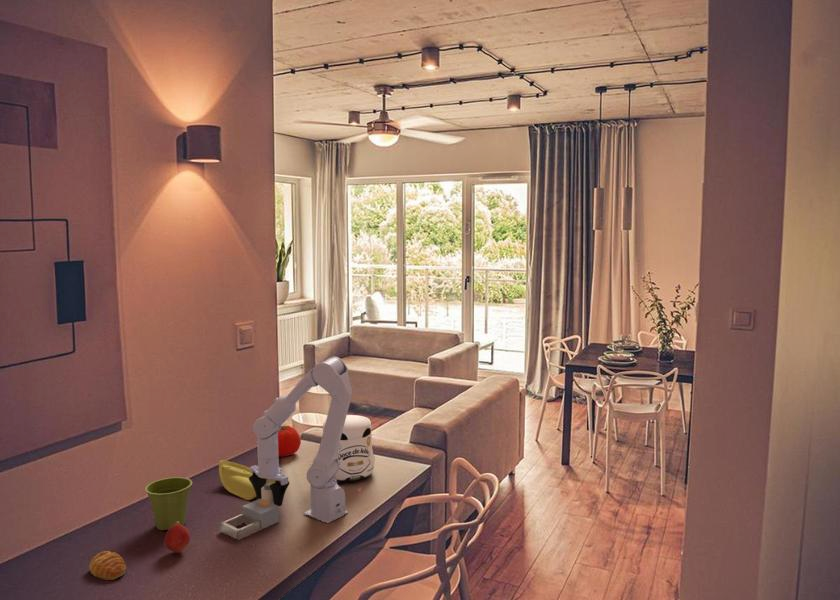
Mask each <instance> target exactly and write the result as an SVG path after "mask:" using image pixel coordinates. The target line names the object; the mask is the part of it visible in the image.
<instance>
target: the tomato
mask: <svg viewBox="0 0 840 600" xmlns="http://www.w3.org/2000/svg"><path fill="white" fill-rule="evenodd" d="M301 443H302V439H301V437H300V434H299V433H298V431H297V429H296V428H294V427H292V426H291V425H281V428H280V430H279V431H278V457H288V456H291V455H294V454H296V453H297V452H298V450H299V449H300V447H301Z"/></svg>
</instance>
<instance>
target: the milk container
mask: <svg viewBox="0 0 840 600" xmlns="http://www.w3.org/2000/svg"><path fill="white" fill-rule="evenodd" d="M325 423H326V419H325V420H324V421H323V424H322V432H323V431H324V427H325ZM372 437H373V435H372V423H371V419H370V418H368V417H366V416H362V415H357V414H356V415H354V414H347V416H346V420H345V423H344V427H343V431H342V435H341V439H340V443H339V447H338V451H337V452H338V453H339V457H338V462H339V470H338V472H337V473H336V474H335V476H336V481H337V482H341V483H347V482H350V483H351V482H357V481H360V480H361V481H362V480H363V479H366V478H368V477H369V476H370V475H371V474H372V473H373V472H374V469H375V464H376V463H375V461H376V460H375V459H376V458H375V454H374V451H373V447H372V446H373V444H372V443H373V441H372Z"/></svg>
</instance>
